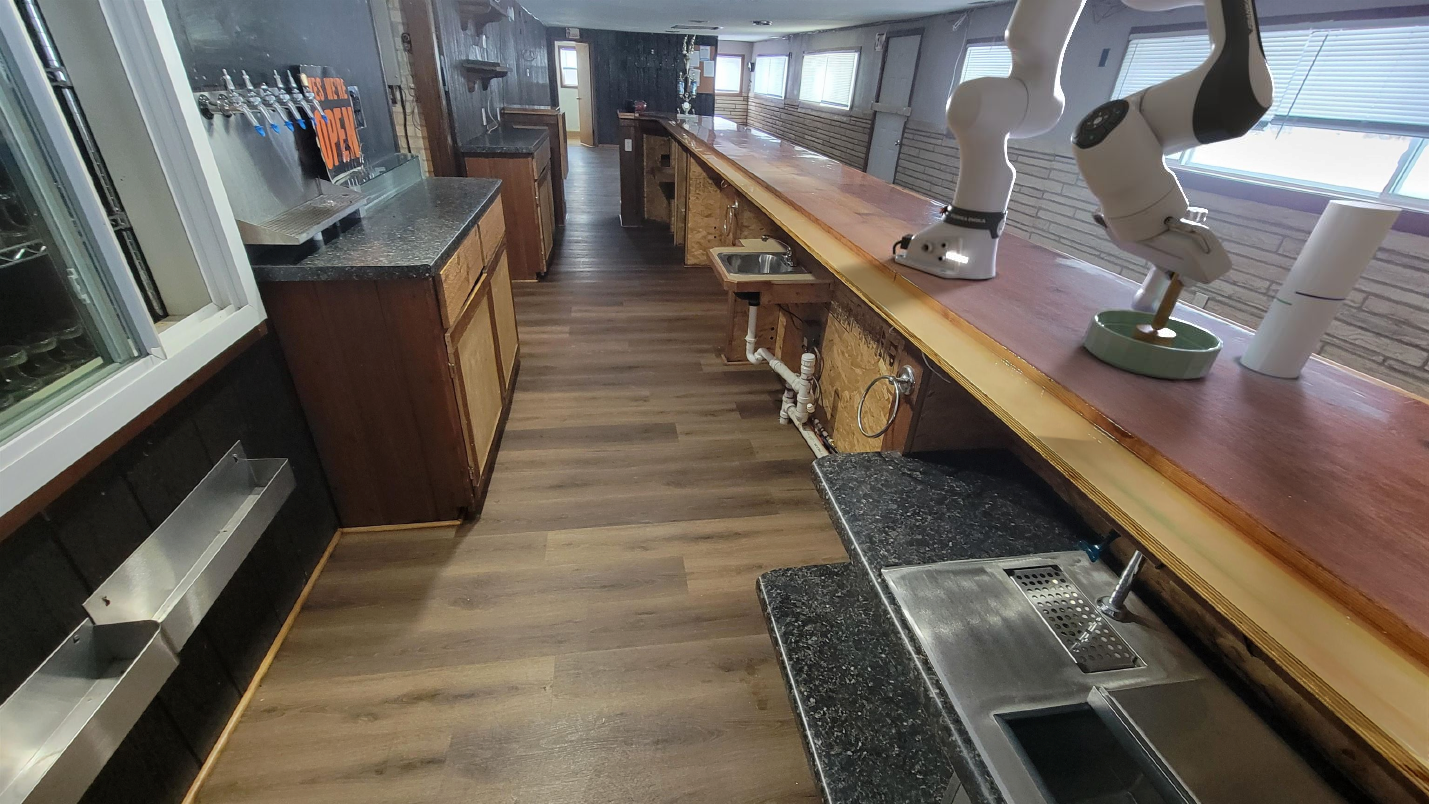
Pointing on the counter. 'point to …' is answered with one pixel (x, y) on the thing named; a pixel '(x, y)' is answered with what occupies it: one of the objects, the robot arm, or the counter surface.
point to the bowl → (1151, 345)
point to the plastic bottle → (1160, 275)
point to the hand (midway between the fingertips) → (1182, 281)
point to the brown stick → (1161, 319)
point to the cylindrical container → (1318, 285)
